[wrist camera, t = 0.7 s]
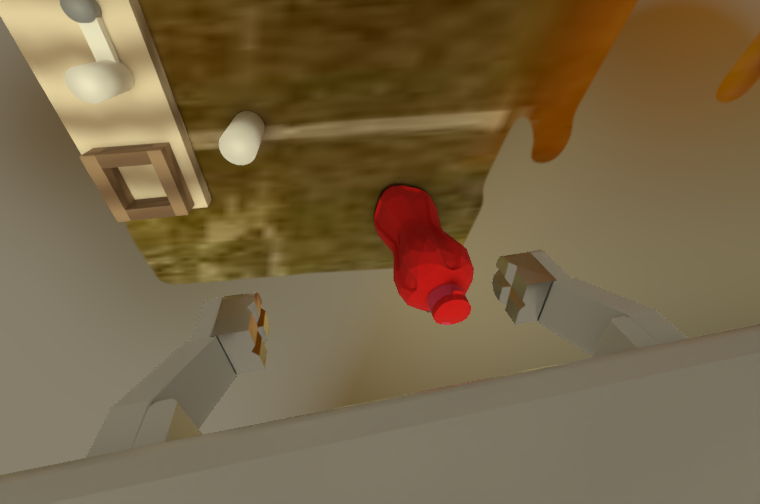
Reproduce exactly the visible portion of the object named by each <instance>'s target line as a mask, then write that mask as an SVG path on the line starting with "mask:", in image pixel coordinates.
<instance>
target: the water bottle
mask: <svg viewBox="0 0 760 504" xmlns="http://www.w3.org/2000/svg"><path fill="white" fill-rule="evenodd" d="M374 226H375V228H376V230H377V233H378V235H379V236H380V238H381V239H382V240H383V241H384V243H385V244H386V245H387V246H388V247H389V249H390V250H391V251H392V253H393V256H394V282H395V284H396V287H397V290H398V293H399V294H400V296H401V297H402V298H403V300H404V301H405V302H406V303H407V305H410V306H412V307H415V308H417V309H420V310H424V311H427V312H431V313H432V316H433V318H434V320H435V321H436V322H437V323H439V324H444V325H449V324H455V323H458V322H461V321H463V320H465V319H466V318H467V317H468V315H469V314H470V311H471V306H470V304H469V302H468V300H467V298H466V296H465V294H466V292H467V290H468V288H469V286H470V284H471V282H472V279H473V270H474V268H473V266H472V263H471V260H470V257H469V254H468V252H467V249H466V248H465V247H464V246H462V245H461V244H460V243H459V242H457V241H456V240H455V239H453V238H452V237H451V236H449V235H448V234H447V233H445V232H444V231H443V230H442V229H441V225H440V221H439V216H438V212H437V208H436V206H435V204H434V202H433V200H432V199H431V197H430V195H429V194H428V193H426V192H425V191H423V190H421V189H418V188H414V187H409V186H405V185H397V186H391V187H389V188H388V189H386V190H385V191H384V192H383V194H382V195H381V197H380V199H379V201H378V205H377V208H376V211H375V216H374Z"/></svg>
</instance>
